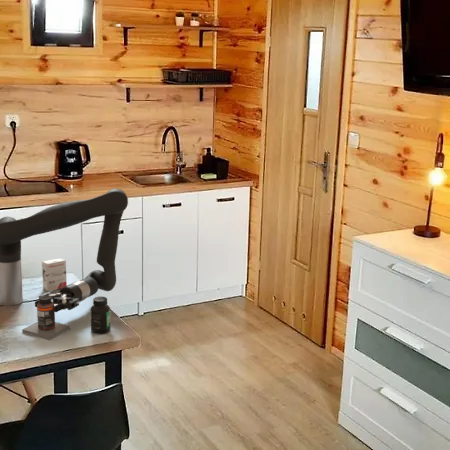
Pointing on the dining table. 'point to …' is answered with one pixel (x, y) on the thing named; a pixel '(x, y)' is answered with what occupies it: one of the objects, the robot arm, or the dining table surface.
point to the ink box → (54, 274)
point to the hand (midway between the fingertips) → (45, 307)
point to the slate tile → (46, 334)
